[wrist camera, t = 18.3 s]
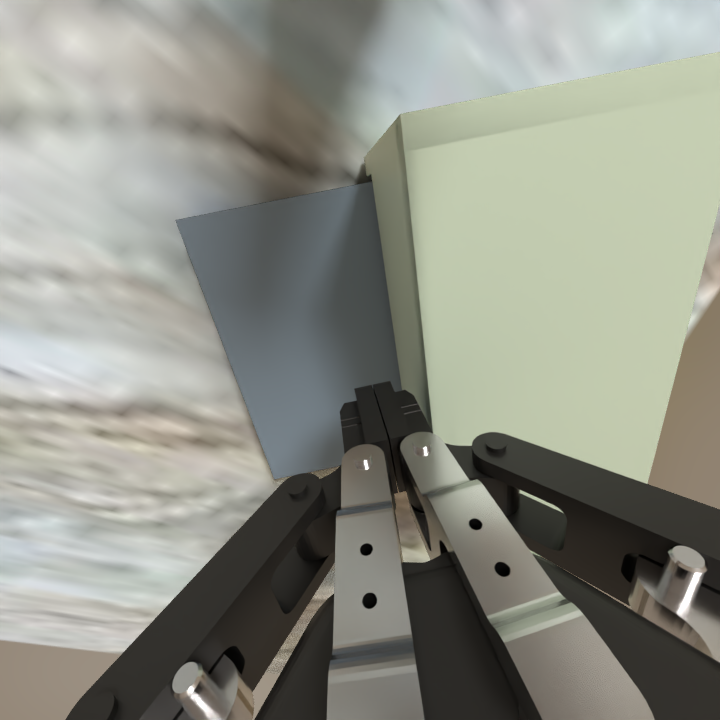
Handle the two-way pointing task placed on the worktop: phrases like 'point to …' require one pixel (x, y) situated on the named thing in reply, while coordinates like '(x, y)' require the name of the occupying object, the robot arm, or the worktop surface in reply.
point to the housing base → (298, 314)
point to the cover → (552, 256)
